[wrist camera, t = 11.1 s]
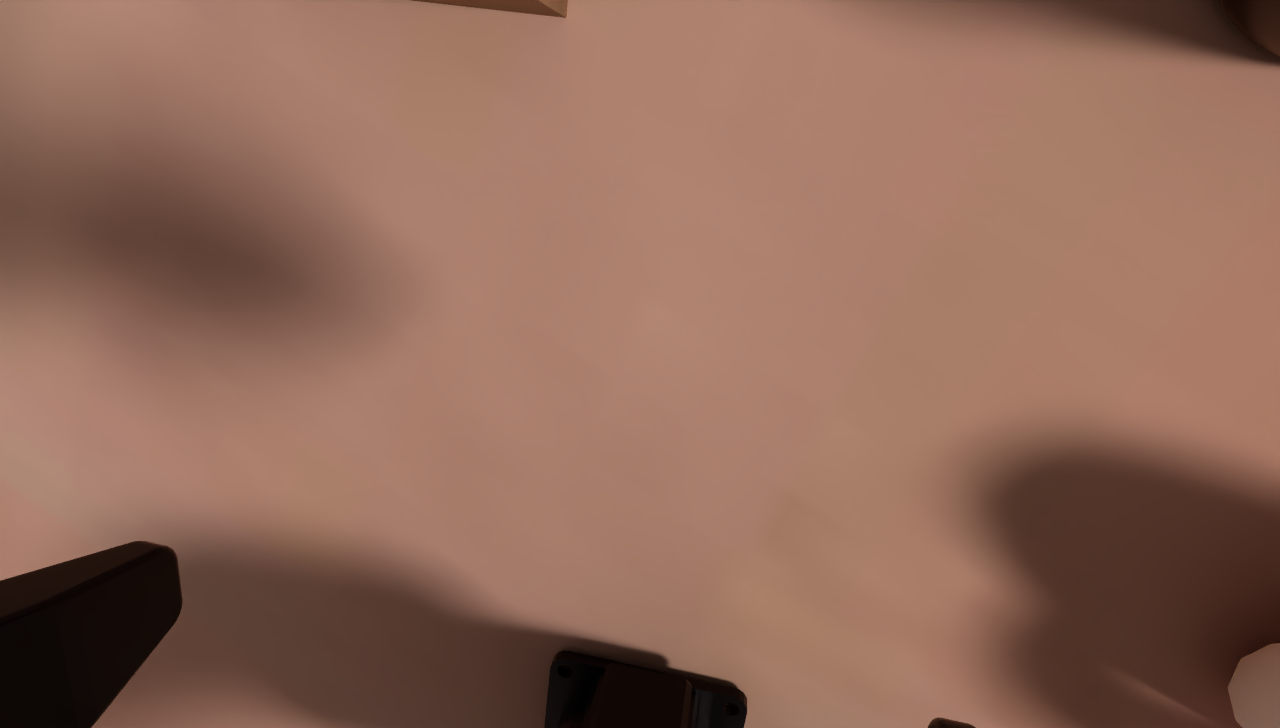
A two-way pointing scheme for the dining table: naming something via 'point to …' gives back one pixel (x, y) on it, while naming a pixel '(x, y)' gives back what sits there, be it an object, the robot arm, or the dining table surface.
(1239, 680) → the white knot sculpture
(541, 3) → the walnut slab
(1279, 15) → the supplement bottle
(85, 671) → the robot arm
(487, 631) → the dining table surface
